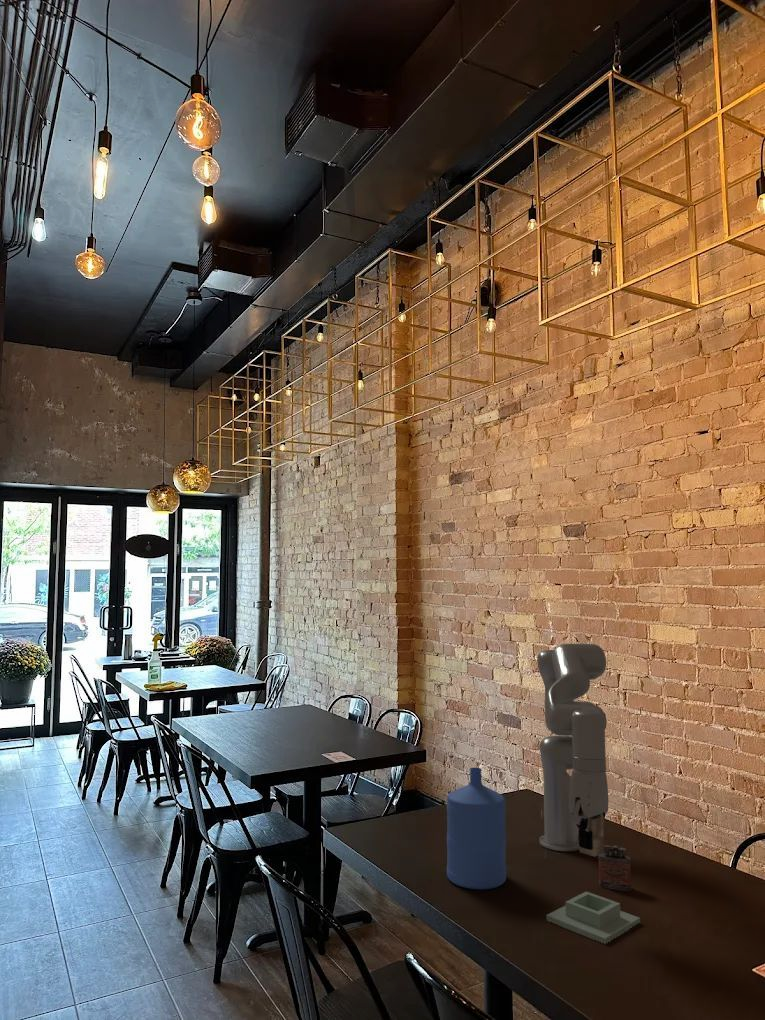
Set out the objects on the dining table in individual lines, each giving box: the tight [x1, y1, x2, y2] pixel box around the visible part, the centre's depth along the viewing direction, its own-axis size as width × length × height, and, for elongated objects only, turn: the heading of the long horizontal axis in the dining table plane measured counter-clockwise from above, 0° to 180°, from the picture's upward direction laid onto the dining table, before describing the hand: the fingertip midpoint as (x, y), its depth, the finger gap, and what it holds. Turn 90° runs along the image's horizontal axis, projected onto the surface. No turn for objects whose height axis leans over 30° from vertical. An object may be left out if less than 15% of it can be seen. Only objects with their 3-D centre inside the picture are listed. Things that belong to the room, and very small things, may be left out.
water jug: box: [446, 767, 507, 890], centre depth 189 cm, size 16×16×28 cm
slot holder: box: [546, 891, 641, 945], centre depth 164 cm, size 15×15×4 cm
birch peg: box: [578, 813, 605, 857], centre depth 165 cm, size 4×4×8 cm
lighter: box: [597, 844, 633, 891], centre depth 184 cm, size 8×3×10 cm, turn 71°
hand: (591, 845), depth 165 cm, fingers closed on birch peg, 3 cm apart
